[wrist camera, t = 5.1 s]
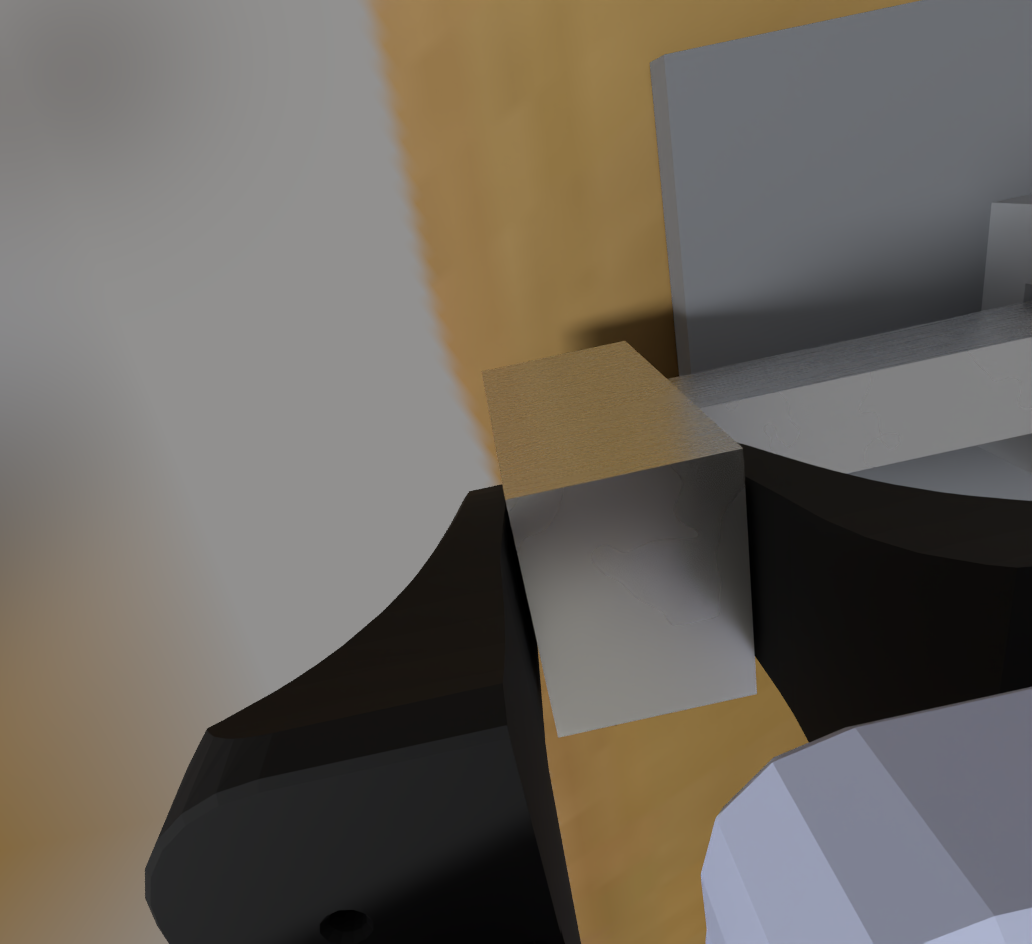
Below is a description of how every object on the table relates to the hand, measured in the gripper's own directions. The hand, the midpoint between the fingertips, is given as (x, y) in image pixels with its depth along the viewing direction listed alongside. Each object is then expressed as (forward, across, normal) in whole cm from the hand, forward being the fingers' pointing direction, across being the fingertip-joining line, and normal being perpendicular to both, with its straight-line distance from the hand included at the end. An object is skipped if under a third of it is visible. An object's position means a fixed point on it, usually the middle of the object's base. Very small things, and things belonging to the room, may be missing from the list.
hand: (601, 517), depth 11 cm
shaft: (+3, -5, 0) cm, 6 cm away
